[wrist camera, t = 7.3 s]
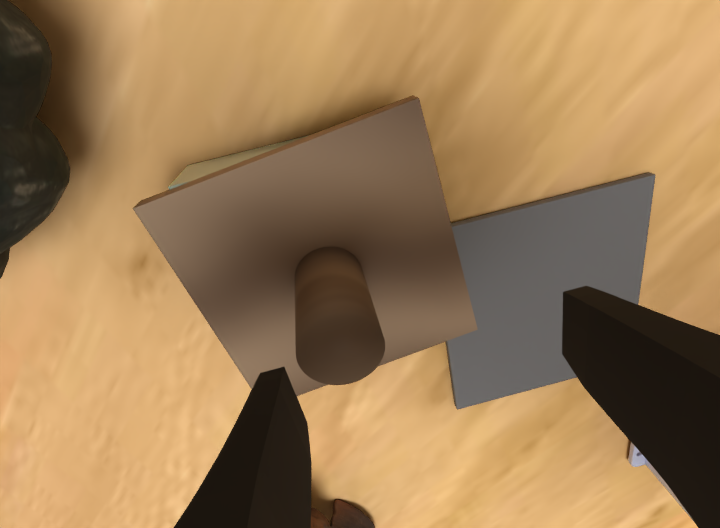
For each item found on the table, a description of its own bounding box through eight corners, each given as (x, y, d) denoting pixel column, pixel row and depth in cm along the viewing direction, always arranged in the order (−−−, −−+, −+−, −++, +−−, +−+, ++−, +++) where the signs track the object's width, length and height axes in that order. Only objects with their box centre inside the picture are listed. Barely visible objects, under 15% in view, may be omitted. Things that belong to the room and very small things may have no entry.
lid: (470, 318, 19) (528, 405, 14) (265, 394, 19) (256, 503, 15) (412, 95, 14) (470, 118, 10) (140, 200, 14) (70, 271, 10)
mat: (625, 358, 26) (630, 362, 26) (454, 404, 26) (457, 409, 25) (649, 172, 20) (655, 174, 20) (429, 228, 20) (432, 232, 20)
